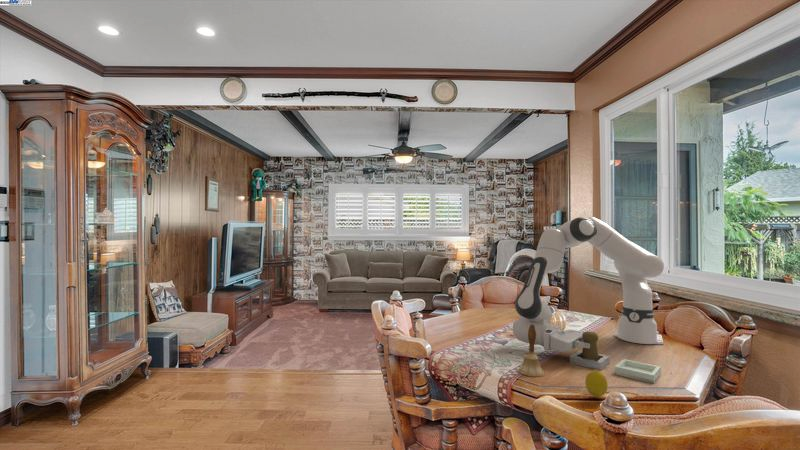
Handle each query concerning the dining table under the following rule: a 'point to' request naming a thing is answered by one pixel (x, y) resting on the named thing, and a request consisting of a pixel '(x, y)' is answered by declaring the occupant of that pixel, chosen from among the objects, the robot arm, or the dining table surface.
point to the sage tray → (638, 370)
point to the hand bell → (531, 357)
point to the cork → (592, 351)
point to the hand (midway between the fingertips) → (592, 344)
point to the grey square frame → (590, 361)
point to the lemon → (596, 383)
